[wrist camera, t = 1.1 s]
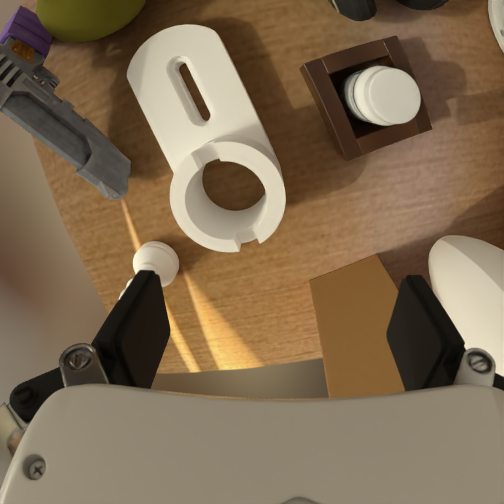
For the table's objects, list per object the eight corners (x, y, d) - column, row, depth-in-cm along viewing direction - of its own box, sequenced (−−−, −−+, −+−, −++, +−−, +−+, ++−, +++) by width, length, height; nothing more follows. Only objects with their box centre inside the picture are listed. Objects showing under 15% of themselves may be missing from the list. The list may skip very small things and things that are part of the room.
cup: (414, 296, 34) (489, 444, 15) (378, 234, 31) (479, 403, 11) (478, 249, 31) (581, 369, 11) (451, 180, 27) (600, 292, 8)
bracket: (295, 202, 30) (302, 229, 24) (214, 233, 31) (201, 266, 26) (209, 15, 21) (192, -7, 16) (127, 59, 23) (93, 52, 17)
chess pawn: (151, 231, 32) (116, 275, 24) (188, 259, 33) (165, 310, 25) (130, 262, 34) (96, 309, 26) (165, 287, 35) (140, 340, 27)
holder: (382, 41, 22) (396, 35, 18) (416, 125, 25) (432, 129, 22) (299, 68, 24) (303, 63, 21) (337, 154, 27) (346, 161, 24)
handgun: (131, 124, 35) (110, 215, 27) (13, 21, 18) (-67, 87, 10) (151, 110, 34) (134, 199, 26) (30, -1, 16) (-54, 55, 9)
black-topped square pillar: (376, 253, 32) (506, 600, 1) (390, 306, 35) (479, 590, 4) (308, 280, 33) (346, 650, 3) (330, 329, 37) (368, 624, 6)
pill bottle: (389, 80, 23) (431, 76, 16) (380, 125, 25) (419, 137, 18) (341, 66, 23) (370, 53, 16) (333, 113, 25) (358, 118, 18)
